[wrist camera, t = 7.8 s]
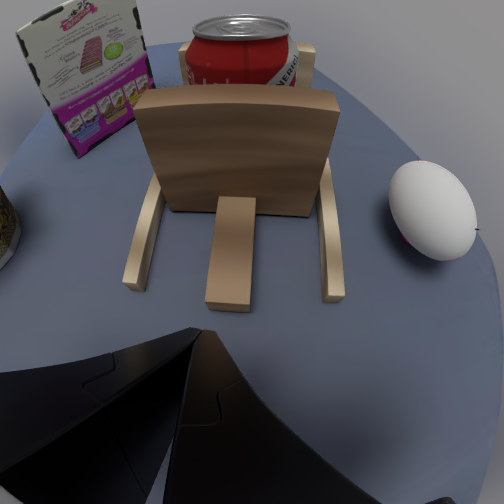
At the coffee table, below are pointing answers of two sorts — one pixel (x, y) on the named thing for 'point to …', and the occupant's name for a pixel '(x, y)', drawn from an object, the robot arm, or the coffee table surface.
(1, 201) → the ceramic cup
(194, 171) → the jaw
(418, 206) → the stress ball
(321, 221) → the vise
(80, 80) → the candy bar box
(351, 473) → the coffee table surface
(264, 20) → the soda can
